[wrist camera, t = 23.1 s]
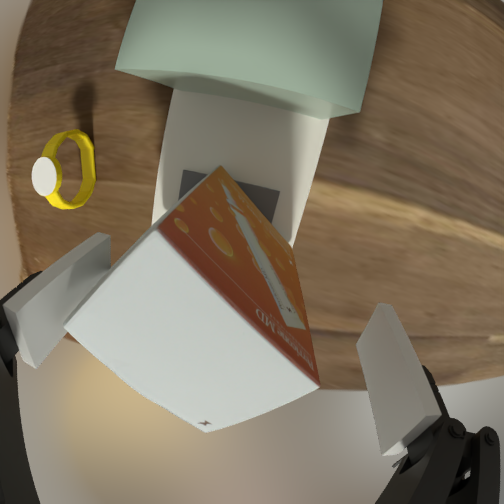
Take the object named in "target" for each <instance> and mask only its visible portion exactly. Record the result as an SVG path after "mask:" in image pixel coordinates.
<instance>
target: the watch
mask: <svg viewBox="0 0 504 504" xmlns="http://www.w3.org/2000/svg"><path fill="white" fill-rule="evenodd" d="M66 137H69V138H71V139H73V140H75V142H76V143H77V145H78V147H79V148H80V150H81V163H82V174H83V181H82V184H81V187H80V190H79V192H78V194H77V195H76V196H75V198H74V199H73V200H72V201H71V202H68V201H66V200H64V199H63V198H62V196H61V195H60V193H59V191H58V189H59V187H60V185H61V182H62V170H61V166H60V164H59V162H58V160H57V159H56V158H55V156H56V153H57V150H58V147H59V146H60V144H61V143H62V142H63V141H64V139H65V138H66ZM94 149H95V147H94V145H93V144H92V142H91V140H90V138H89V137H88V135H87V134H85V133H84V132H82V131H80V130H78V129H75V130H70V131H66V132H62V133H58V134H56V135H54V136H53V137H52V138H51V139H50V141H49V142H48V143H47V144H46V145H45V148H44V150H43V153H42V157H41V158H39V159H38V160H37V161H36V162H35V164H34V166H33V170H32V182H33V185H34V188H35V190H36V191H37V192H38V194H40V195H41V196H45V197H46V198H47V200H48V201H49V203H50V204H52V205H53V206H55V207H58V208H60V209H74V208H77V207H80V206H82V205H83V204H85V202H86V201H87V200H88V198H89V197H90V196H91V193H92V192H93V189H94V185H95V182H96V173H95V161H94Z"/></svg>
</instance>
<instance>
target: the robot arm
mask: <svg viewBox="0 0 504 504" xmlns="http://www.w3.org/2000/svg"><path fill="white" fill-rule="evenodd" d="M110 268H111V263H110V235H107V234H103V233H100V232H97V233H96V234H94V235H93V236H91V237H90V238H88V239H87V240H86V241H84V242H83V243H81V244H80V245H78V246H77V247H76V248H74V249H73V250H71V251H70V252H69V253H67V254H66V255H64V256H63V257H62V258H60V259H59V260H58V261H56V262H55V263H54V264H52V265H51V266H50V267H48V268H47V269H46V270H44V271H39V272H37V273H35V274H32V275H30V276H29V277H28V278H26V279H25V280H24V281H23V283H22V282H21V283H20V284H19V285H18V286H17V288H14V289H13V290H12V291H10V292H9V293H8V294H7V295H6V296H4V297H3V298H2V299H1V300H0V504H40V501H39V498H38V495H37V492H36V488H35V485H34V482H33V478H32V474H31V471H30V467H29V462H28V458H27V454H26V448H25V443H24V438H23V431H22V424H21V417H20V408H19V398H18V385H17V384H18V383H17V360H16V357H15V354H16V353H17V352H18V351H19V352H20V354H21V356H22V359H23V361H24V362H26V363H27V364H29V365H31V366H32V367H34V368H35V369H37V368H38V366H39V365H40V364H41V363H42V362H43V360H44V359H45V358H46V356H48V354H49V353H50V352H51V351H52V349H53V348H54V347H55V346H56V345H57V343H58V342H59V341H60V340H61V339H62V337H63V336H64V335H65V334H66V333H67V332H68V331H67V330H66V329H65V328H64V327H63V323H64V321H65V320H66V318H67V317H68V316H69V315H70V314H71V312H72V311H73V310H74V309H75V308H76V306H77V305H78V304H79V303H80V302H81V301H82V299H83V298H84V297H85V296H86V295H87V294H88V293H89V291H90V290H91V289H92V288H93V287H94V286H95V285H96V284H97V282H98V281H99V280H100V279H101V278H102V277H103V276H104V275H105V274H106V273H107V271H108V270H109V269H110ZM356 347H357V351H358V354H359V358H360V362H361V366H362V369H363V373H364V377H365V381H366V385H367V389H368V393H369V398H370V402H371V406H372V411H373V415H374V419H375V424H376V429H377V434H378V439H379V444H380V449H381V455H382V456H384V455H396V454H398V453H400V452H401V451H402V450H403V449H404V448H406V447H407V450H408V454H406V455H405V456H404V457H403V458H401V459H400V460H399V461H397V462H396V463H395V464H394V465H393V466H392V467H396V466H397V465H398V464H399V466H398V468H397V470H396V471H395V473H394V475H393V476H392V478H391V480H390V481H389V483H388V485H387V486H386V488H385V489H384V491H383V493H382V494H381V495H380V497H379V498H378V500H377V501H376V503H375V504H499V493H500V443H499V438H498V435H497V433H496V431H494V429H492V428H490V427H487V426H486V427H483V428H482V429H481V430H480V431H479V432H478V433H476V434H475V433H470V432H467V431H466V428H465V427H464V425H463V424H462V423H461V422H460V421H459V420H457V419H455V418H450V417H449V414H448V412H447V409H446V407H445V404H444V402H443V399H442V397H441V395H440V393H439V392H438V391H439V390H438V388H437V385H435V381H434V379H433V376H432V374H431V373H430V372H429V371H428V369H427V368H426V367H425V366H423V365H421V364H420V361H419V359H418V357H417V355H416V353H415V351H414V349H413V346H412V344H411V342H410V340H409V338H408V336H407V334H406V332H405V330H404V328H403V326H402V324H401V322H400V320H399V318H398V316H397V314H396V312H395V311H394V309H393V307H392V305H389V304H384V303H378V305H377V307H376V309H375V311H374V313H373V315H372V317H371V318H370V320H369V322H368V324H367V326H366V328H365V329H364V331H363V333H362V335H361V337H360V338H359V340H358V342H357V344H356ZM470 470H471V472H470V477H468V478H466V479H465V478H464V477H465V474H466V473H467V472H468V471H470Z"/></svg>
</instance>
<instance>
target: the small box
mask: <svg viewBox="0 0 504 504" xmlns="http://www.w3.org/2000/svg"><path fill="white" fill-rule="evenodd" d="M63 327H64V328H65V329H66V330H67V331H68V332H69V333H70V334H71V335H72V336H73V337H74V338H75V339H76V340H77V341H78V342H79V343H80V344H82V345H83V346H84V347H85V348H86V349H87V350H88V351H89V352H90V353H92V354H93V355H94V356H95V357H96V358H97V359H98V360H100V361H101V362H102V363H103V364H104V365H106V366H107V367H108V368H109V369H111V370H112V371H113V372H114V373H115V374H116V375H117V376H118V377H120V378H121V379H122V380H123V381H124V382H125V383H127V384H128V385H129V386H130V387H132V388H133V389H134V390H136V391H137V392H139V393H140V394H141V395H143V396H144V397H146V398H148V399H149V400H151V401H153V402H155V403H156V404H158V405H159V406H161V407H163V408H165V409H166V410H168V411H169V412H171V413H172V414H174V415H176V416H177V417H179V418H181V419H182V420H184V421H186V422H188V423H189V424H191V425H193V426H195V427H196V428H198V429H200V430H201V431H203V432H210V431H214V430H218V429H221V428H224V427H228V426H231V425H234V424H237V423H240V422H242V421H245V420H247V419H250V418H253V417H255V416H258V415H261V414H263V413H266V412H268V411H271V410H273V409H275V408H277V407H280V406H282V405H284V404H287V403H289V402H291V401H293V400H295V399H297V398H300V397H302V396H304V395H305V394H307V393H309V392H312V391H314V390H316V389H318V388H319V387H320V381H319V375H318V370H317V365H316V360H315V356H314V350H313V345H312V340H311V335H310V330H309V325H308V320H307V315H306V310H305V305H304V300H303V296H302V291H301V287H300V282H299V278H298V273H297V269H296V264H295V259H294V255H293V251H292V247H291V246H290V244H289V243H288V242H287V241H286V240H285V239H284V238H283V237H282V236H281V235H280V233H279V232H278V231H277V230H276V229H275V228H274V227H273V225H272V224H271V223H270V222H269V221H268V220H267V218H266V217H265V216H264V215H263V214H262V213H261V211H260V210H259V209H258V208H257V207H256V206H255V204H254V203H253V202H252V201H251V200H250V198H249V197H248V196H247V195H246V194H245V193H244V191H243V190H242V189H241V188H240V187H239V185H238V184H237V183H236V182H235V181H234V180H233V178H232V177H231V176H230V175H229V174H228V172H227V171H226V170H225V169H224V168H223V167H222V166H221V165H219V166H218V167H216V168H215V169H214V170H213V171H212V172H210V173H209V174H208V175H207V176H206V177H205V178H203V179H202V180H201V181H200V182H199V183H197V184H196V185H195V186H194V187H193V188H192V189H191V190H190V191H188V192H187V193H186V194H185V195H184V196H183V197H182V198H181V199H180V200H179V201H177V202H176V203H175V204H174V205H173V206H172V207H171V208H170V209H169V210H168V211H167V212H166V213H165V214H164V215H162V216H161V217H160V218H159V219H158V220H157V221H156V222H155V223H154V224H153V225H152V226H151V227H150V228H149V229H148V230H147V231H146V232H145V233H144V234H143V235H142V236H141V237H140V238H139V239H138V240H137V241H136V242H135V243H134V244H133V245H132V246H131V247H130V249H129V250H128V251H127V252H126V253H125V254H124V255H123V256H122V257H121V258H120V259H119V260H118V261H117V262H116V263H115V264H114V265H113V266H112V267H111V268H110V269H109V270H108V271H107V273H106V274H105V275H104V276H103V277H102V278H101V279H100V280H99V281H98V282H97V284H96V285H95V286H94V287H93V288H92V289H91V290H90V291H89V293H88V294H87V295H86V296H85V297H84V298H83V299H82V301H81V302H80V303H79V304H78V305H77V306H76V308H75V309H74V310H73V311H72V312H71V314H70V315H69V316H68V317H67V318H66V320H65V321H64V323H63Z"/></svg>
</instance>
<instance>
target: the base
mask: <svg viewBox="0 0 504 504" xmlns="http://www.w3.org/2000/svg"><path fill="white" fill-rule="evenodd" d="M329 119H330V118H328V119H323V120H320V119H317V118H314V117H310V116H307V115H303V114H299V113H296V112H292V111H288V110H284V109H280V108H276V107H272V106H268V105H263V104H259V103H254V102H249V101H244V100H239V99H234V98H228V97H223V96H217V95H210V94H203V93H196V92H188V91H180V90H177V89H174V90H173V95H172V99H171V104H170V108H169V113H168V118H167V123H166V128H165V133H164V139H163V145H162V150H161V156H160V163H159V169H158V176H157V183H156V191H155V199H154V208H153V217H152V225H153V224H154V223H155V222H156V221H157V220H158V219H159V218H160V217H161V216H162V215H164V214H165V213H166V212H167V211H168V210H169V209H170V208H171V207H172V206H173V205H174V204H175V203H176V202H177V201H179V200H180V199H181V198H182V197H183V196H184V195H185V194H186V193H187V192H188V191H190V190H191V189H192V188H193V187H194V186H195V185H196V184H197V183H199V182H200V181H201V180H202V179H203V178H205V177H206V176H207V175H208V174H209V173H210V172H212V171H213V170H214V169H215V168H216V167H218V166H219V165H221V166H222V167H223V168H224V169H225V170H226V171H227V172H228V174H229V175H230V176H231V177H232V178H233V180H234V181H235V182H236V183H237V184H238V185H239V187H240V188H241V189H242V190H243V191H244V193H245V194H246V195H247V196H248V197H249V198H250V200H251V201H252V202H253V203H254V204H255V206H256V207H257V208H258V209H259V210H260V211H261V213H262V214H263V215H264V216H265V217H266V218H267V220H268V221H269V222H270V223H271V224H272V225H273V227H274V228H275V229H276V230H277V231H278V232H279V233H280V235H281V236H282V237H283V238H284V239H285V240H286V241H287V242H288V243H289V244H290V246H291V247H293V244H294V240H295V237H296V234H297V231H298V227H299V224H300V221H301V218H302V214H303V211H304V208H305V204H306V201H307V198H308V194H309V191H310V187H311V184H312V180H313V177H314V173H315V170H316V166H317V163H318V159H319V156H320V152H321V148H322V145H323V141H324V137H325V134H326V130H327V126H328V122H329Z"/></svg>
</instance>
